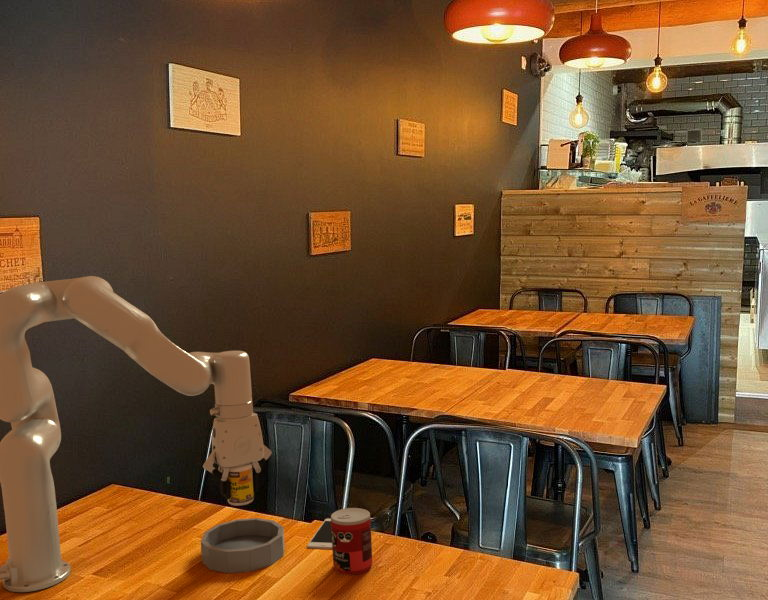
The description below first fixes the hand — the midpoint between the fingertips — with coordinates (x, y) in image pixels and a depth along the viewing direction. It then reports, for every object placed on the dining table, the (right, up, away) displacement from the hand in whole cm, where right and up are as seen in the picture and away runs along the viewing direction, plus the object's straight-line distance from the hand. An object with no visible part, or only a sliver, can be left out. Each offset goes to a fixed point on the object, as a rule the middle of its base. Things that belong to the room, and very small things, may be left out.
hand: (240, 492), depth 161 cm
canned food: (+24, -14, -7) cm, 28 cm away
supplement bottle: (0, -2, 0) cm, 2 cm away
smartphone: (+19, -12, +10) cm, 25 cm away
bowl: (0, -14, +1) cm, 14 cm away
